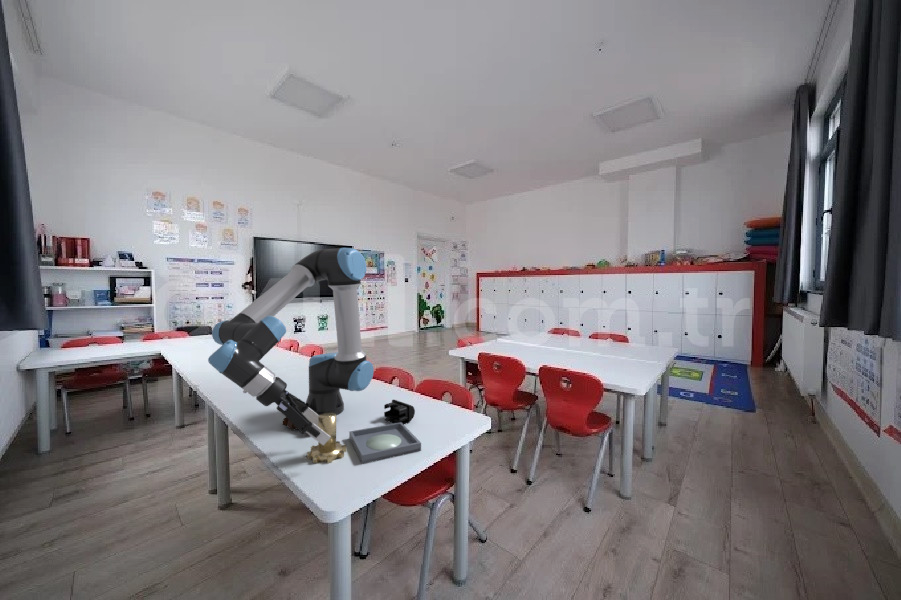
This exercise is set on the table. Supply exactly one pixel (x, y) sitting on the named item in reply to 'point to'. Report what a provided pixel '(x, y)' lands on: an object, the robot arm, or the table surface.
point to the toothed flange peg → (331, 447)
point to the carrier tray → (383, 442)
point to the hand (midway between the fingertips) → (323, 431)
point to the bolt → (289, 424)
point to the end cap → (399, 412)
